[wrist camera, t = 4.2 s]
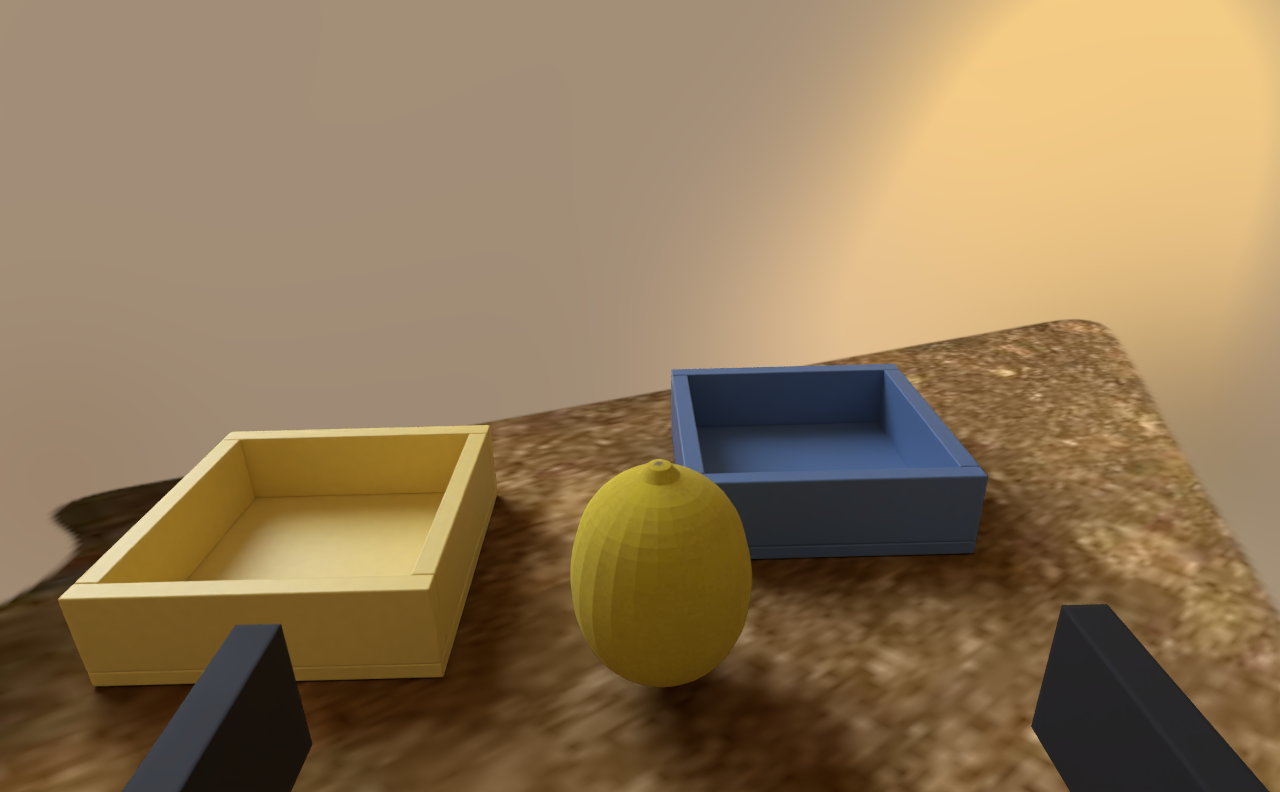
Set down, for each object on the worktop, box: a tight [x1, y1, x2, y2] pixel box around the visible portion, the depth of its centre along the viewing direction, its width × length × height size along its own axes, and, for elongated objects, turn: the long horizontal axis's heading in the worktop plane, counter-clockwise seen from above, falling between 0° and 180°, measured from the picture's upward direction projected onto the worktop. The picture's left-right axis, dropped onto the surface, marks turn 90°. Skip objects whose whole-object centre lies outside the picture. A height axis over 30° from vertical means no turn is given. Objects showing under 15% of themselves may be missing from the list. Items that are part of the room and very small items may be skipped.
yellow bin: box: [58, 425, 498, 686], centre depth 30 cm, size 12×12×4 cm
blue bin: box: [671, 364, 988, 559], centre depth 36 cm, size 12×12×4 cm
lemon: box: [570, 459, 752, 687], centre depth 24 cm, size 6×6×8 cm
